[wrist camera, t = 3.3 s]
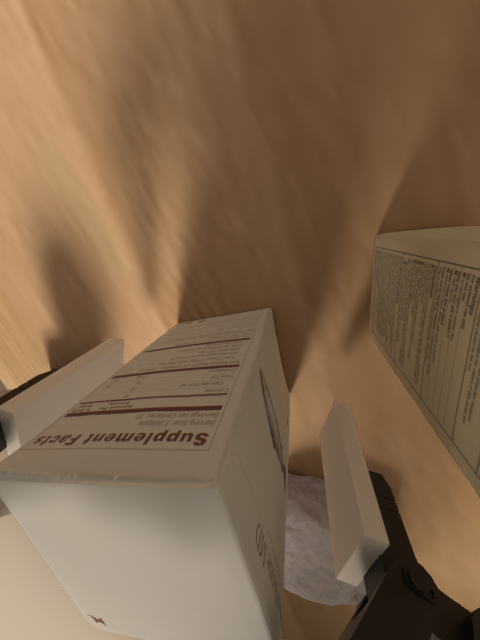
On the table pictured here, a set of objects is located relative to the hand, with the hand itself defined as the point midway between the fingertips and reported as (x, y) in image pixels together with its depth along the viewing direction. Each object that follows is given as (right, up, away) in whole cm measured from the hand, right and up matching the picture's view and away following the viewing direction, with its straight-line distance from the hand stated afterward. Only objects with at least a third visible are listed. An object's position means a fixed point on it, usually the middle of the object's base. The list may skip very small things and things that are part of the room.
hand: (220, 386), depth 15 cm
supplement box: (+1, +1, +4) cm, 4 cm away
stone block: (+9, -14, +8) cm, 19 cm away
